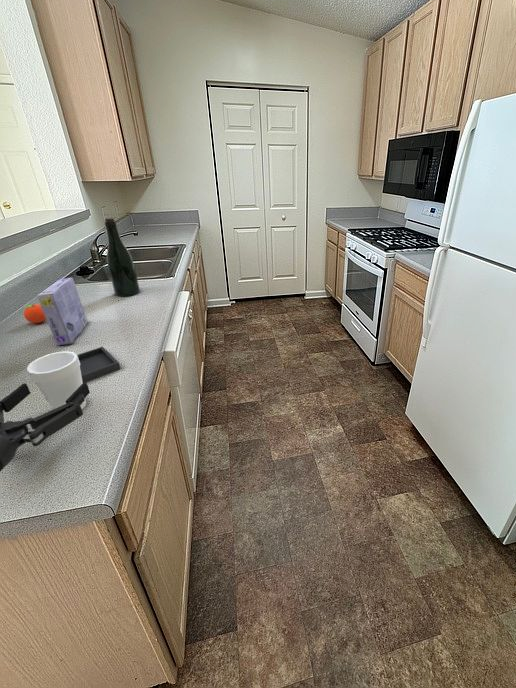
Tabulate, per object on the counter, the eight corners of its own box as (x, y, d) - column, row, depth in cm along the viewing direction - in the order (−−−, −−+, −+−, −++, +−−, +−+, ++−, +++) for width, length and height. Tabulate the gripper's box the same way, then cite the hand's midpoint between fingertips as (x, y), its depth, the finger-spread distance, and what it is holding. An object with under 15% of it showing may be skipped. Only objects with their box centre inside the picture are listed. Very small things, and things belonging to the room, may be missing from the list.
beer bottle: (144, 292, 153) (127, 217, 138) (121, 298, 146) (100, 220, 131) (134, 287, 159) (116, 215, 144) (111, 293, 152) (90, 218, 137)
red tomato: (21, 328, 120) (14, 310, 117) (27, 320, 126) (20, 303, 123) (47, 324, 123) (40, 306, 120) (52, 317, 128) (45, 300, 125)
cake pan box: (75, 322, 124) (59, 277, 116) (90, 321, 125) (75, 275, 117) (55, 346, 107) (35, 295, 99) (72, 344, 108) (54, 294, 101)
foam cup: (99, 393, 85) (84, 349, 79) (84, 418, 77) (66, 371, 71) (58, 397, 84) (40, 353, 78) (39, 423, 75) (17, 375, 70)
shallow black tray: (53, 369, 95) (51, 363, 94) (104, 352, 104) (102, 346, 103) (66, 389, 87) (63, 382, 86) (120, 368, 95) (118, 362, 95)
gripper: (-86, 479, 58) (8, 401, 77) (56, 477, 58) (115, 400, 77) (-110, 448, 55) (-5, 374, 74) (41, 446, 55) (107, 373, 74)
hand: (56, 387), depth 76 cm, fingers open, 13 cm apart
